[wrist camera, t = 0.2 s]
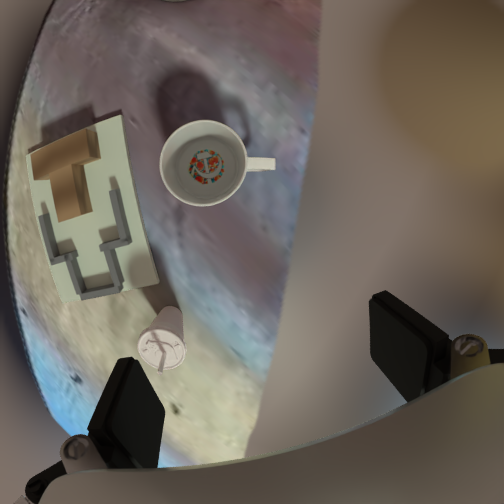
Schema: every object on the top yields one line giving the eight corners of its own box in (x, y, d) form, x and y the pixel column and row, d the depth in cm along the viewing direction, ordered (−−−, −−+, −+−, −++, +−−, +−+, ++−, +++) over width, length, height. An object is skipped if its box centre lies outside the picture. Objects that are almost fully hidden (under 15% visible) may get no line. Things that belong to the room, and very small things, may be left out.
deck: (29, 155, 33) (18, 155, 30) (123, 116, 34) (116, 111, 31) (65, 300, 39) (56, 308, 36) (159, 281, 40) (155, 288, 37)
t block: (44, 155, 32) (30, 154, 28) (97, 132, 33) (85, 128, 29) (56, 223, 35) (43, 228, 31) (110, 206, 36) (99, 209, 32)
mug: (175, 200, 38) (159, 207, 27) (175, 137, 36) (160, 121, 25) (261, 199, 39) (277, 206, 29) (262, 137, 37) (279, 121, 27)
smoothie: (178, 340, 43) (167, 398, 30) (144, 320, 42) (120, 373, 28) (199, 312, 42) (193, 366, 29) (163, 289, 41) (142, 337, 27)
